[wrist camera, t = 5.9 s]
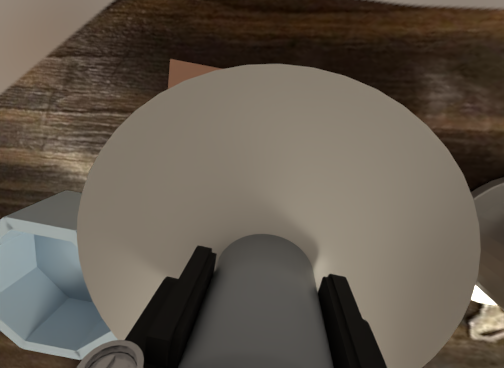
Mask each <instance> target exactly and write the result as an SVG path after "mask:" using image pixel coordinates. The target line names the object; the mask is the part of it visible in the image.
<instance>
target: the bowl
mask: <svg viewBox="0 0 504 368" xmlns="http://www.w3.org/2000/svg"><path fill="white" fill-rule="evenodd" d="M81 194H82V193H79V192H74V191H69V190H66V191H63V192H61V193H58V194H56V195H54V196H51V197H49V198H47V199H44V200H42V201H40V202H37V203H35V204H33V205H30V206H28V207H26V208H23V209H21V210H19V211H17V212H14V213H12V214H10V215H7V216H5V217H3V218H2V219H0V331H2V332H3V333H4V334H5V335H6V336H7V337H9V338H10V339H11V340H12V341H13V342H14V343H15V344H17V345H18V346H19V347H20V348H21V347H22V349H26V350H32V351H37V352H42V353H47V354H52V355H57V356H62V357H67V358H72V359H77V360H80V359H81V360H82V359H83V358H84V357H85V356H86V355H87V354H88V353H89V352H90V351H92V350H93V349H94V348H96V347H98V346H100V345H101V344H104V343H107V342H110V341H113V340H118V339H117V338H116V337H115V336H114V334H113V333H112V332H111V330H110V329H109V327H108V326H107V325H106V323H105V322H104V320H103V319H102V317H101V316H100V314H99V312H98V310H97V308H96V306H95V304H94V303H93V301H92V299H91V296H90V294H89V291H88V288H87V286H86V283H85V281H84V277H83V273H82V269H81V265H80V261H79V254H78V245H77V217H78V211H79V205H80V200H81Z"/></svg>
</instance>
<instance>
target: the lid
mask: <svg viewBox="0 0 504 368" xmlns="http://www.w3.org/2000/svg"><path fill="white" fill-rule="evenodd" d="M77 245H78V254H79V261H80V265H81V269H82V273H83V277H84V281H85V283H86V286H87V288H88V291H89V294H90V296H91V299H92V301H93V303H94V304H95V306H96V308H97V310H98V312H99V314H100V316H101V317H102V319H103V320H104V322H105V323H106V325H107V326H108V327H109V329H110V330H111V332H112V333H113V334H114V336H115V337H116V338H117V339H118V340H125V338H126V337H127V335H128V334H129V332H130V331H131V329H132V328H133V326H134V324H135V323H136V321H137V320H138V318H139V317H140V315H141V314H142V312H143V311H144V309H145V308H146V306H147V304H148V303H149V301H150V300H151V298H152V297H153V295H154V294H155V292H156V291H157V289H158V288H159V286H160V284H161V283H162V281H163V280H164V279H165V277H167V276H168V277H173V278H177V279H179V277H180V275H181V274H182V272H183V270H184V268H185V266H186V265H187V263H188V261H189V259H190V258H191V256H192V254H193V252H194V251H195V249H196V247H197V246H198V245H199V246H204V247H208V248H212V252H213V253H216V254H217V256H216V262H215V268H214V273H213V276H212V278H211V281H210V284H209V286H208V289H207V291H206V294H205V297H204V299H203V302H202V305H201V307H200V310H199V313H198V315H197V318H196V321H195V323H194V326H193V328H192V331H191V334H190V336H189V339H188V342H187V344H186V347H185V350H184V352H183V355H182V357H181V360H180V363H179V365H178V368H334V366H333V361H332V357H331V352H330V347H329V343H328V338H327V333H326V329H325V324H324V320H323V315H322V310H321V306H320V301H319V296H318V290H319V287H320V284H321V281H322V278H323V277H324V276H325V277H328V275H329V274H334V275H339V276H344V277H346V279H347V281H348V283H349V286H350V288H351V291H352V293H353V296H354V298H355V301H356V303H357V306H358V308H359V311H360V313H361V316H362V318H363V319H364V320H366V321H367V322H368V323H369V325H370V327H371V330H372V332H373V334H374V337H375V339H376V342H377V344H378V346H379V349H380V351H381V354H382V356H383V358H384V361H385V363H386V366H387V368H422V367H423V366H424V365H425V364H426V363H428V362H429V361H430V360H431V359H432V358H433V357H434V356H435V355H436V354H437V353H438V352H439V350H440V349H441V348H442V347H443V346H444V345H445V344H446V342H447V341H448V340H449V339H450V337H451V336H452V334H453V333H454V331H455V329H456V328H457V326H458V325H459V323H460V322H461V320H462V318H463V316H464V314H465V312H466V309H467V307H468V305H469V303H470V301H471V298H472V295H473V291H474V287H475V284H476V280H477V277H478V270H479V261H480V252H481V248H480V229H479V222H478V217H477V213H476V208H475V204H474V199H473V197H472V195H471V192H470V190H469V187H468V185H467V182H466V180H465V177H464V175H463V173H462V171H461V170H460V168H459V166H458V165H457V163H456V162H455V160H454V158H453V157H452V155H451V153H450V152H449V150H448V149H447V148H446V146H445V145H444V144H443V143H442V142H441V141H440V139H439V138H438V137H437V136H436V135H435V134H434V133H433V131H432V130H431V129H430V128H429V127H428V126H427V125H426V124H425V123H424V122H422V121H421V120H420V119H419V118H418V117H417V116H415V115H414V114H413V113H412V112H411V111H409V110H408V109H407V108H406V107H405V106H403V105H402V104H400V103H398V102H397V101H395V100H394V99H392V98H390V97H389V96H387V95H385V94H384V93H382V92H380V91H379V90H377V89H375V88H373V87H371V86H368V85H366V84H363V83H361V82H359V81H356V80H354V79H352V78H349V77H347V76H344V75H340V74H336V73H332V72H329V71H325V70H321V69H317V68H313V67H304V66H295V65H286V64H257V65H243V66H237V67H232V68H226V69H220V70H215V71H212V72H209V73H206V74H203V75H200V76H197V77H194V78H191V79H188V80H185V81H183V82H181V83H179V84H177V85H175V86H173V87H171V88H169V89H167V90H165V91H163V92H161V93H159V94H158V95H156V96H155V97H154V98H152V99H151V100H149V101H148V102H147V103H145V104H144V105H142V106H141V107H140V108H138V109H137V110H135V111H134V112H133V113H132V114H131V115H130V116H129V117H128V118H127V119H126V120H125V121H124V122H123V123H122V124H121V125H120V126H119V127H118V128H117V129H116V130H115V132H114V133H113V134H112V136H111V137H110V138H109V140H108V141H107V142H106V144H105V145H104V146H103V148H102V149H101V150H100V152H99V154H98V156H97V158H96V160H95V162H94V164H93V165H92V167H91V169H90V171H89V174H88V177H87V180H86V182H85V185H84V188H83V191H82V194H81V200H80V205H79V211H78V217H77Z"/></svg>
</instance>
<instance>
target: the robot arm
mask: <svg viewBox="0 0 504 368" xmlns="http://www.w3.org/2000/svg"><path fill="white" fill-rule="evenodd" d="M471 195H472V197H473V199H474V204H475V208H476V213H477V217H478V222H479V229H480V248H481V252H480V261H479V270H478V277H477V280H476V284H475V287H474V291H473V295H472V298H471V300H473V301H475V302H478V303H483V304H488V305H498V306H499V307H500V308H501V309H503V310H504V177H502V178H499V179H496V180H493V181H491V182H489V183H487V184H485V185H483V186H481V187H478V188H477V189H475V190H474V191H472V192H471ZM216 256H217V254H216V253H213V252H212V248H208V247H204V246H199V245H198V246H197V247H196V249H195V251H194V252H193V254H192V256H191V258H190V259H189V261H188V263H187V265H186V266H185V268H184V270H183V272H182V274H181V275H180V277H179V279H177V278H173V277H168V276H167V277H165V279H164V280H163V281H162V283H161V284H160V286H159V288H158V289H157V291H156V292H155V294H154V295H153V297H152V298H151V300H150V301H149V303H148V304H147V306H146V308H145V309H144V311H143V312H142V314H141V315H140V317H139V318H138V320H137V321H136V323H135V324H134V326H133V328H132V329H131V331H130V332H129V334H128V335H127V337H126V338H125V340H113V341H110V342H107V343H104V344H101V345H100V346H98V347H96V348H94V349H93V350H92V351H90V352H89V353H88V354H87V355H86V356H85V357H84V358H83V359H82V361H81V362H80V364H79V365H78V366H77V368H178V365H179V363H180V360H181V357H182V355H183V352H184V350H185V347H186V344H187V342H188V339H189V336H190V334H191V331H192V328H193V326H194V323H195V321H196V318H197V315H198V313H199V310H200V307H201V305H202V302H203V299H204V297H205V294H206V291H207V289H208V286H209V284H210V281H211V278H212V276H213V273H214V268H215V262H216ZM318 296H319V301H320V306H321V310H322V315H323V320H324V324H325V329H326V333H327V338H328V343H329V347H330V352H331V357H332V361H333V366H334V368H387V366H386V363H385V361H384V358H383V356H382V354H381V351H380V349H379V346H378V344H377V342H376V339H375V337H374V334H373V332H372V330H371V327H370V325H369V323H368V322H367V321H366V320H364V319H363V318H362V316H361V313H360V311H359V308H358V306H357V303H356V301H355V298H354V296H353V293H352V291H351V288H350V286H349V283H348V281H347V279H346V277H344V276H339V275H334V274H329V275H328V277H325V276H324V277H323V278H322V281H321V284H320V287H319V290H318Z"/></svg>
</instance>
